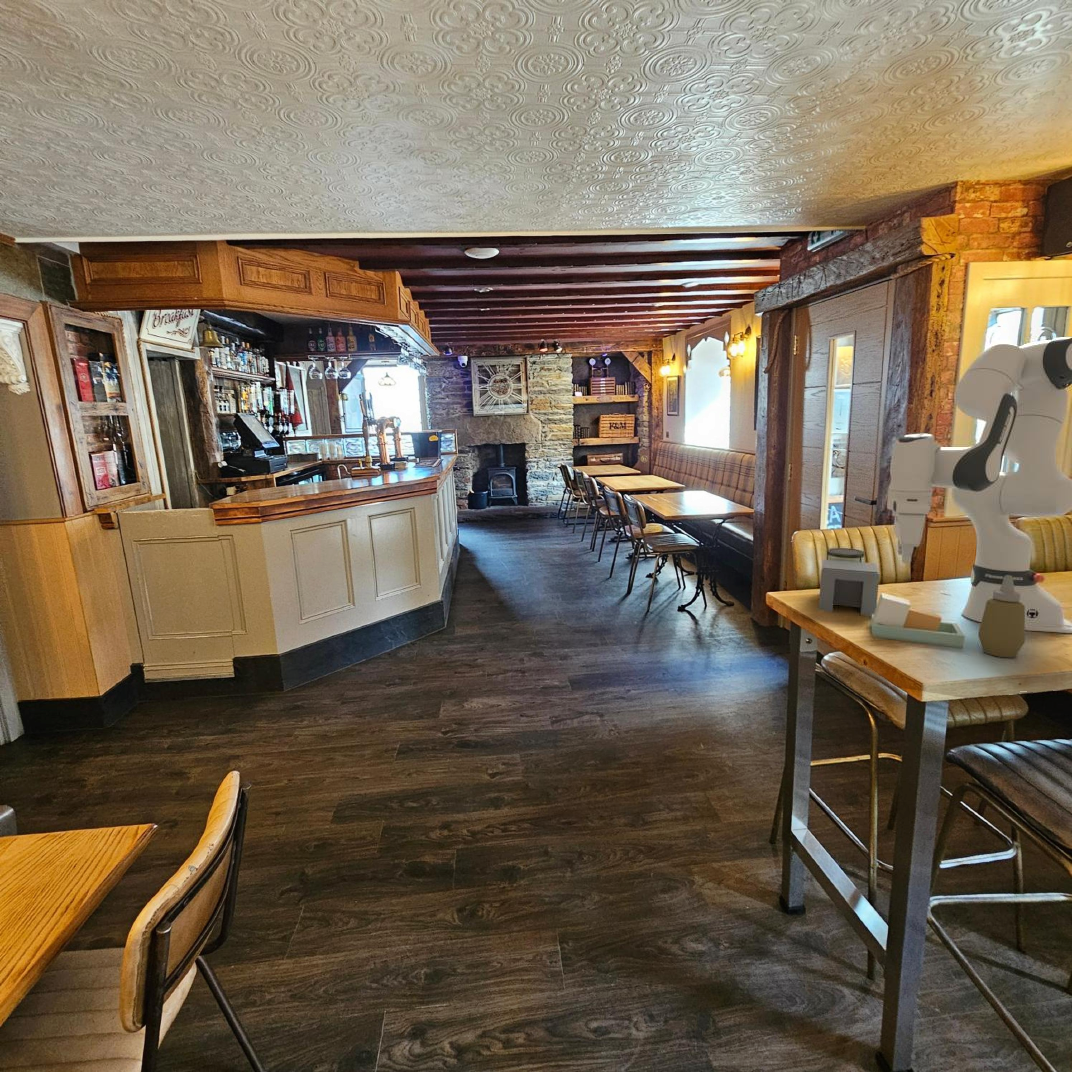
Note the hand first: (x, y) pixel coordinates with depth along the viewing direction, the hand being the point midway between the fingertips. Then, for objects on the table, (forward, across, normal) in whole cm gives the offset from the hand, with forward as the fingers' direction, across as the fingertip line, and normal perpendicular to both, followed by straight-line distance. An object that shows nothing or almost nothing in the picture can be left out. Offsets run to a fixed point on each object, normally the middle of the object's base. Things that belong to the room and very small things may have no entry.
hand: (903, 558), depth 138 cm
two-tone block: (+17, +1, +1) cm, 17 cm away
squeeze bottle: (+19, +6, +19) cm, 28 cm away
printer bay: (+19, -19, -11) cm, 29 cm away
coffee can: (+20, -33, -12) cm, 40 cm away
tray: (+19, +1, +4) cm, 19 cm away
